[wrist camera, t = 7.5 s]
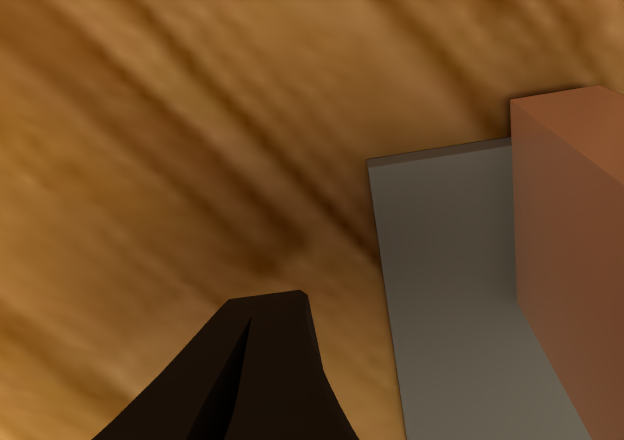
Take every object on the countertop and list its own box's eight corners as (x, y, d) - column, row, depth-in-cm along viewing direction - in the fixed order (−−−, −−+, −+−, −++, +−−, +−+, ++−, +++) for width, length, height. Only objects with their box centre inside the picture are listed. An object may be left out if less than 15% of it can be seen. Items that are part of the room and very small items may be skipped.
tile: (596, 292, 13) (776, 515, 8) (517, 302, 14) (639, 527, 8) (603, 84, 11) (851, 192, 6) (510, 99, 12) (666, 217, 6)
